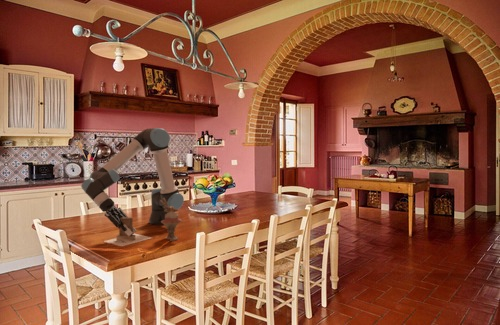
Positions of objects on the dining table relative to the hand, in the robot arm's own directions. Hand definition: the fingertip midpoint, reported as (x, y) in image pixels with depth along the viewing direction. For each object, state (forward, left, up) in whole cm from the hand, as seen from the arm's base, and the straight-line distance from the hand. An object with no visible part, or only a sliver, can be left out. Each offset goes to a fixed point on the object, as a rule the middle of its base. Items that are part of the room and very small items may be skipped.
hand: (132, 233), depth 189 cm
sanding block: (+2, -4, -4) cm, 6 cm away
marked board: (0, -3, -5) cm, 6 cm away
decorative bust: (-18, +12, -5) cm, 22 cm away
